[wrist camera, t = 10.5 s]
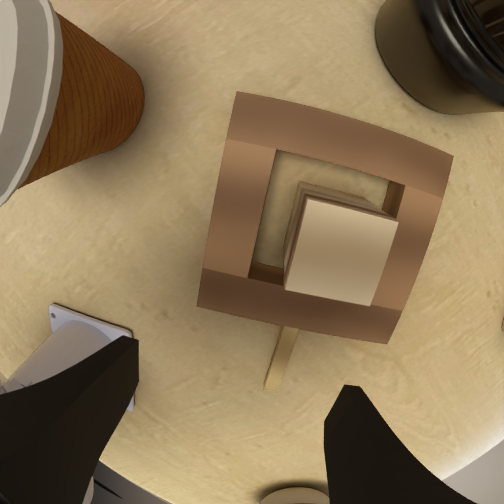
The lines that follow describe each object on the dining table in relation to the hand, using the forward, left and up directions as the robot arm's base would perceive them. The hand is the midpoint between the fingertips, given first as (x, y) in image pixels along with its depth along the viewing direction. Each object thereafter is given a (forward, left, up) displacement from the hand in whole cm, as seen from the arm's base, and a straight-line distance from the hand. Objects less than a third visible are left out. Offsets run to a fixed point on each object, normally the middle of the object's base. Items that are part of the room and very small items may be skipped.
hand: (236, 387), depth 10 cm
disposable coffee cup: (+9, +12, -11) cm, 18 cm away
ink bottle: (+17, -8, -11) cm, 22 cm away
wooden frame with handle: (0, -3, -10) cm, 11 cm away
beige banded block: (+4, -3, -10) cm, 12 cm away
